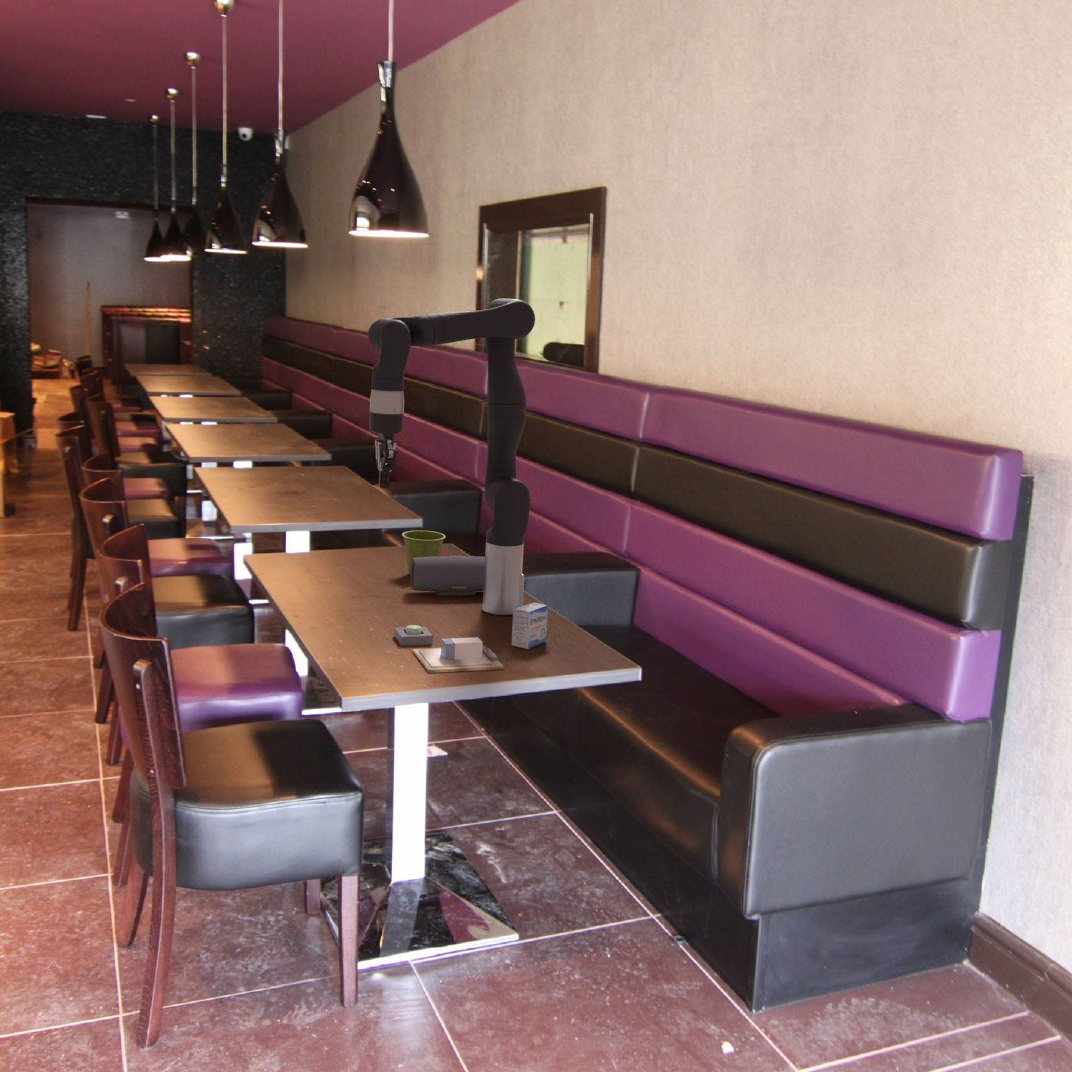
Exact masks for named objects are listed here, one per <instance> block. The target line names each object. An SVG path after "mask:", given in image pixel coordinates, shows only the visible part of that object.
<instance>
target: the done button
mask: <svg viewBox="0 0 1072 1072" xmlns="http://www.w3.org/2000/svg"><path fill="white" fill-rule="evenodd" d="M405 627H406V634H407V635H409V634H421V629H422V627H423V626H420V625H415V624H412V625H409V624H408V625H406V626H405Z"/></svg>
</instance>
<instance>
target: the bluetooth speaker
mask: <svg viewBox="0 0 1072 1072" xmlns="http://www.w3.org/2000/svg"><path fill="white" fill-rule="evenodd" d="M484 569H485V556H481V555H480V556H478V555H477V556H475V555H441V556H440V555H439V556H434V557H418V558H412V563H411V569H410V575H409V584H410V588H411V589H412V591H417V592H418V591H420V592H431V593H432V592H433V593H435V595H437V596H474V595H476V593H477V592H483V588H484Z"/></svg>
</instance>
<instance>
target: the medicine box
mask: <svg viewBox="0 0 1072 1072" xmlns="http://www.w3.org/2000/svg"><path fill="white" fill-rule="evenodd" d="M548 608H549V606H548V605H547V604H542V603H538V602H530V603H528V604H523V606H521V607H519V608H516V609H514V610H513V614H512V628H511V629H512V630H511V631H512V632H511V646H513V647H517V648H521V649H524V650H531V649H532V648H535V647H537V646H539V645H542V644H543V643H545V642H547V629H548V628H547V627H548V614H549V613H548V612H549V611H548Z"/></svg>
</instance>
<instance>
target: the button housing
mask: <svg viewBox="0 0 1072 1072" xmlns="http://www.w3.org/2000/svg"><path fill="white" fill-rule="evenodd" d="M406 627H407V626H405V627H404V626H403V627H394V633H393V635H394V636H393V637H394V638H395V639H396V641H397V642H398V643H399V645H400V646H402V647H403V646H426V645H428V646H429V645H433V644H434V643H433V640H434V636H433V634H432V632H430V630H429V629H428V628H427V627H426V626H421V627H422V629H421V634H409V635H407V634H406Z"/></svg>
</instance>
